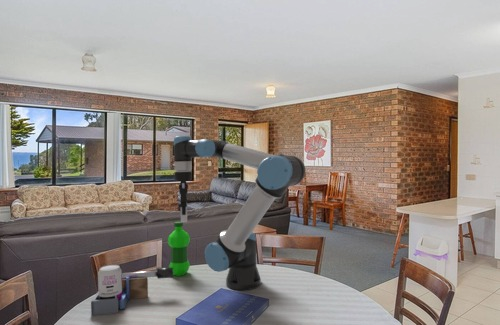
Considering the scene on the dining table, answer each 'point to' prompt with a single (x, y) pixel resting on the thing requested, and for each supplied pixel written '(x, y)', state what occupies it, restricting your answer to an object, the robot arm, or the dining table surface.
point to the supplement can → (110, 283)
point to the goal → (104, 305)
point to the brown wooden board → (137, 287)
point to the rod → (159, 274)
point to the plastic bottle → (179, 250)
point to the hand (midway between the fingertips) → (184, 219)
